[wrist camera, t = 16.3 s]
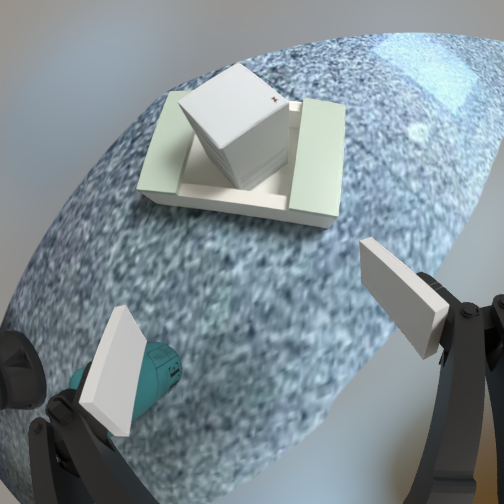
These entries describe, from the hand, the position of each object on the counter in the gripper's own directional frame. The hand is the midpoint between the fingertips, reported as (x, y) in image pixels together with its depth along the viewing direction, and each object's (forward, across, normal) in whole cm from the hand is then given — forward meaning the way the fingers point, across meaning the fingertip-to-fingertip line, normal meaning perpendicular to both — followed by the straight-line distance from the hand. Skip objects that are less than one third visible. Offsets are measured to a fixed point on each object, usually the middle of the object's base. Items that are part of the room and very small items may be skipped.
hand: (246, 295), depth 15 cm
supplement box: (+23, +4, +3) cm, 24 cm away
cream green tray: (+24, +4, +3) cm, 24 cm away
